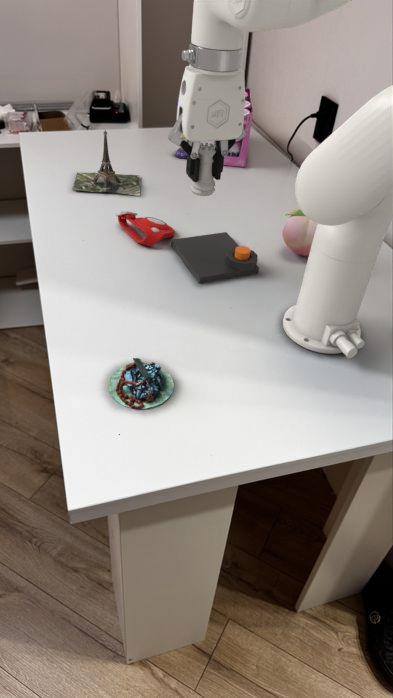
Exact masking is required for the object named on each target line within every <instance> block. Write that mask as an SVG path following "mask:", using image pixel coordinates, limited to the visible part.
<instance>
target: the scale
mask: <svg viewBox="0 0 393 698" xmlns="http://www.w3.org/2000/svg"><path fill="white" fill-rule="evenodd" d="M238 246H240V245H239V244H238V243H237V242H236V240H234V239H233V238H232V237H231V236H230V234H228V232H227V231H224V232H217V233H209V234H202V235H195V236H194V235H193V236H188V237H181V238H173V239H171V240H170V247H171V248H172V249H173V251H174V252H175V253H176V255H177V256H178V257H179V259H180V260H181V261H182V263H183V264H184V266H185V267H186V268H187V270H188V271H189V272H190V274H191V275H192V277H193V279H195V281H196V282H197V283H198V284H199V285H200V284H207V283H212V282H219V281H224V280H225V281H226V280H230V279H235V278H241V277H248V276H253V275H258V274H259V269H260V267H259V266H258V257H259V256H258V254H257V253H256V252H255V251H254V250H253V249H250V250H251V252H250V258H249V259H248V260H239V259H237V258H235V249H236V247H238Z"/></svg>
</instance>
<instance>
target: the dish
mask: <svg viewBox="0 0 393 698" xmlns="http://www.w3.org/2000/svg"><path fill="white" fill-rule="evenodd" d="M132 360H133V362H130V363H128V364H126V365H124V366H122V367H121V368H119V369H118V370H116V371H115V372H114V373H113V374H112V375H111V377H110V379H109V382H108V391H109V393H110V395H111V397H112V398H113V399H114V400H115V401H116V402H117V403H118V404H120V405H122V406H124V407H126V408H129V409H134V408H135V410H137V408H140V410H144V409H149V408H154V407H157V406H159V405H162V404H163V403H165V402H166V401H167V400H168V399H169V398H170V397H171V395H172V394H173V391H174V387H175V386H174V385H175V384H174V380H173V377H172V376H171V374H170V373H168V372H167V371H166V370H164V369H162V366H161V365H160V364H158V363H155V362H153V361H152V362H150V363H147V362H144V361H142V359H141V358H139V357H132Z"/></svg>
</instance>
